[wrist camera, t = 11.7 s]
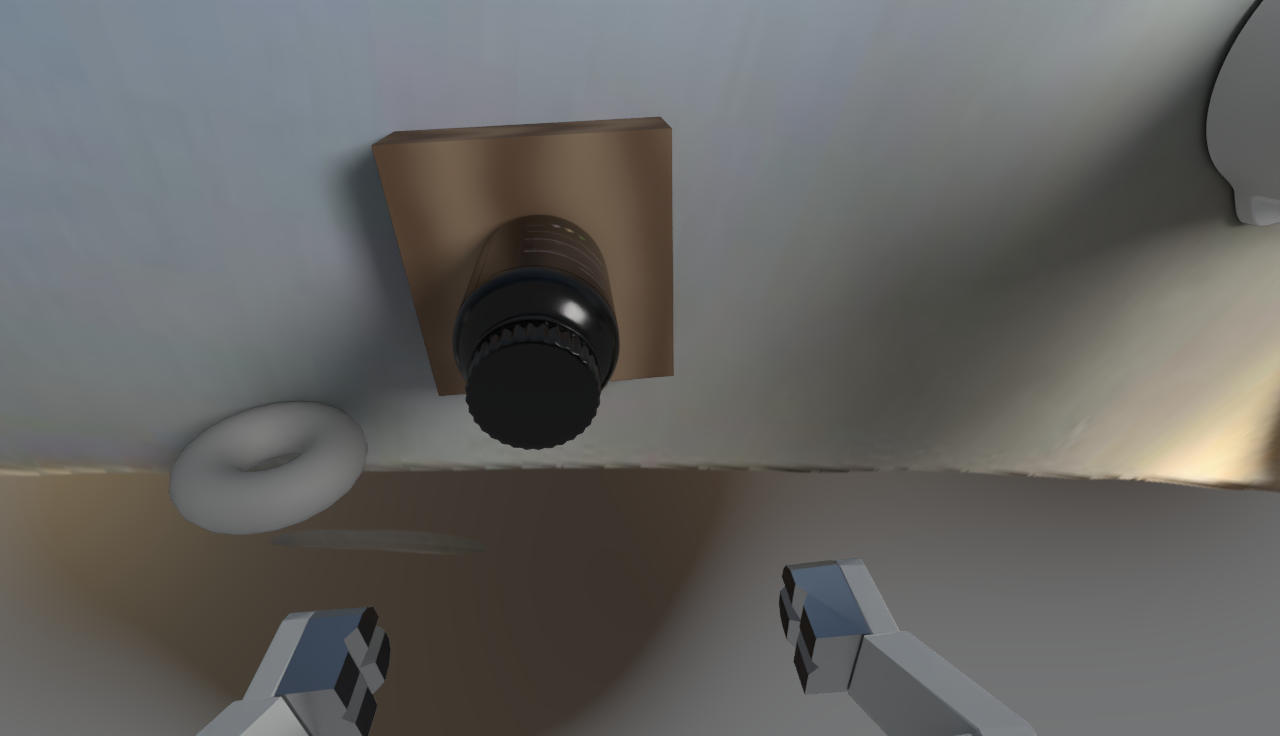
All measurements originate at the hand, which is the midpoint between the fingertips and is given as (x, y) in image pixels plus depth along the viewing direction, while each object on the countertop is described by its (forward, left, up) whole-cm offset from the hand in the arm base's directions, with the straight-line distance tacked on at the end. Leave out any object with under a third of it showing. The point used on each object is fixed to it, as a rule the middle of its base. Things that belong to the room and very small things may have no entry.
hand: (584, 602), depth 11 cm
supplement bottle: (+2, +1, -22) cm, 22 cm away
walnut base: (+2, +2, -25) cm, 26 cm away
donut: (+19, +12, -26) cm, 34 cm away
